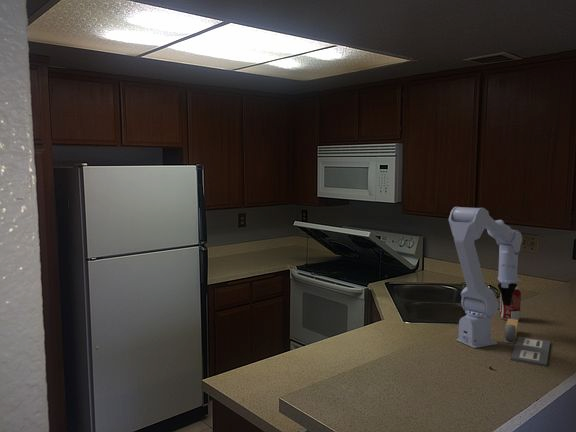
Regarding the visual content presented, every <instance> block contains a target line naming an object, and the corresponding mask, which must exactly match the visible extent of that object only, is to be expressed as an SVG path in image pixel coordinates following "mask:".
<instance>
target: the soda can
mask: <svg viewBox="0 0 576 432" xmlns="http://www.w3.org/2000/svg"><path fill="white" fill-rule="evenodd" d="M521 296H522V292H521V291H520V287H518V286H517V287H516V288H515V290H514V293H513V296H512V301H511V304H510V306H506V305H503V302H502V296H501V295H500V298H499V299H500V300H499V302H500V303H499V304H500V305H499V317H500V318H501V319H502V320H504V321H507V320H508V318H509V319H517V320H518V321H519V320H520V319H521V301H522V300H521V299H522V297H521Z"/></svg>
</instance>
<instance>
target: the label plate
mask: <svg viewBox="0 0 576 432" xmlns="http://www.w3.org/2000/svg"><path fill="white" fill-rule="evenodd" d="M502 341H503V342H504V343H506V344H512V345H514V344H515V345H514V349H513V351H512V354H511V356H510V361H515V362H522V363H527V364H533V365H538V366H545V367H547V366H548V359H549V354H550V353H549V352H550V347H551V346H550V345H551V341H550V340H545V339H544V340H543V339H539V338H538V339H537V338H532V337H524V336H518V337H517V339H515V341H508V340H506V339H505V338H503V340H502Z"/></svg>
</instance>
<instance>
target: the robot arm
mask: <svg viewBox="0 0 576 432" xmlns="http://www.w3.org/2000/svg"><path fill="white" fill-rule="evenodd" d="M504 222H505V221H504V220H503V219H497V220H494V218H493V217H492V216H490V213H489V210H487V209H486V208H485V207H465V206H464V207H463V206H462V207H461V206H454V207H453V208H452V209H451V211H450V214H449V217H448V223H449V227H450V230H451V234H452V236H453V240H454V241H453V242H454V244H455V248H456V249H455V250H456V253H457V257H458V260H459V263H460V268H461V272H462V275H463V279H464V283H465V287H464V288H463V289H462V291H461V292H460V296H461V300H460V301H461V303H460V304H461V308H462V309H463V310H464V313H465V315H464V316H462V317H461V318H460V319H459V322H458V338H456V341H458V342H459V343H462V344H465V345H467V346H469V347H471V348H474V349H478V348H483V347H488V346H493V345H498V342H497V341H495V340H492V323H493V322H492V317H494V316H496V314H497V313H498V311H499V308H500V305H499V304H500V303H499V300H498V298H497V297H496V295H495V292H494V290H492V289H491V288H490V287H489V286H487V285H486V284H485V280H484V275H483V273H482V269H481V264H480V260H479V255H478V252H477V249H476V245H475V241H476V240H479V239H480V238H481V236H482V234H484V233H483V232H484V230H486V231H487V232H486V233H487V234H488V235H489V236H490V237H491V238H493V239H494V240H495V242H496V245H498V246H499V247H498V248H499V249H498V250H499V252H498V253H499V254H498V255H499V256H498V274H497V275H498V276H497V280H498V281H499V283H497V288H498V290H499V292H500V297H501V296H502V302H503V305H506V306H510V304H511V301H512V296H513V293H514V290H515V288H516V287H518V283H519V282H522V279H521V278H518V264H519V253H520V251H521V246H522V242H523V235H522V232H520V231H519V230H518V229H513V228H511V226H509V225H507V224H506V223H504ZM517 282H518V283H517Z"/></svg>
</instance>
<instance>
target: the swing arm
mask: <svg viewBox="0 0 576 432" xmlns="http://www.w3.org/2000/svg"><path fill="white" fill-rule="evenodd" d="M518 330H519V320H517V319H509V318H508V320H506V324H505V327H504V339H506V340H508V341H515V340H517V334H518V332H519V331H518Z"/></svg>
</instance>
